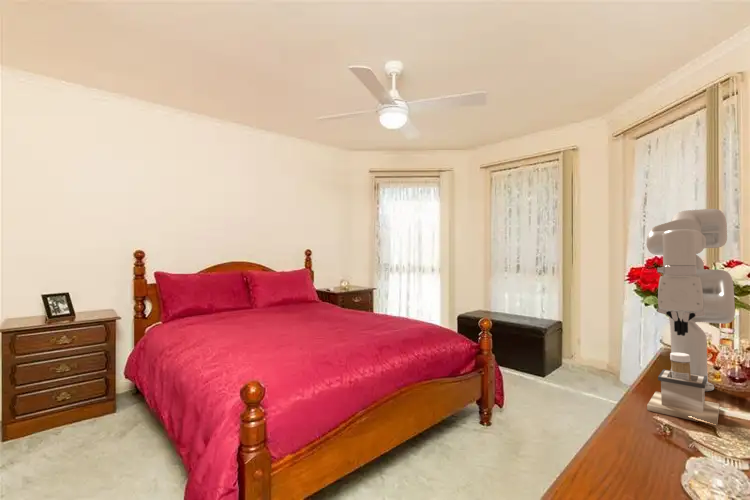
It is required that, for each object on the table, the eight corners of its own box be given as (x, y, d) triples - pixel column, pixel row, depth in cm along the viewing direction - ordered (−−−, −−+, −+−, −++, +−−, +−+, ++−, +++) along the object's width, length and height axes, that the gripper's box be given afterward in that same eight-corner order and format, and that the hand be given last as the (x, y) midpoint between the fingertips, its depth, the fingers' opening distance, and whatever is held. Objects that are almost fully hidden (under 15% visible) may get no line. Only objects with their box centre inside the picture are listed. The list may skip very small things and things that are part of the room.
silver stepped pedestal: (655, 396, 120) (654, 366, 120) (719, 408, 110) (718, 376, 110) (647, 410, 109) (646, 377, 109) (717, 425, 99) (716, 389, 99)
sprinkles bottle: (695, 400, 109) (692, 353, 109) (689, 404, 106) (686, 356, 107) (676, 396, 113) (673, 351, 113) (670, 400, 110) (667, 353, 111)
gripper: (646, 271, 113) (647, 333, 112) (713, 272, 102) (715, 340, 102) (650, 271, 118) (652, 329, 118) (714, 271, 108) (716, 336, 107)
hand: (681, 334), depth 110 cm, fingers closed
